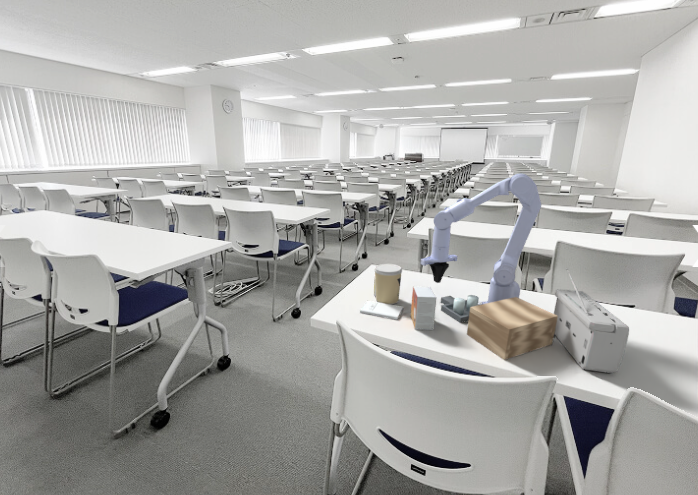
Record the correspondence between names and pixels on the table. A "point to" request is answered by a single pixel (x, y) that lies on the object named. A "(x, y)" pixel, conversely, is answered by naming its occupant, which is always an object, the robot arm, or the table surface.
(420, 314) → the small box
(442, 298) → the tray
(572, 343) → the stereo radio cassette player
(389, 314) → the external hard drive
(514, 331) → the wood grain block
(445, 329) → the table surface
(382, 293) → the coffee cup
